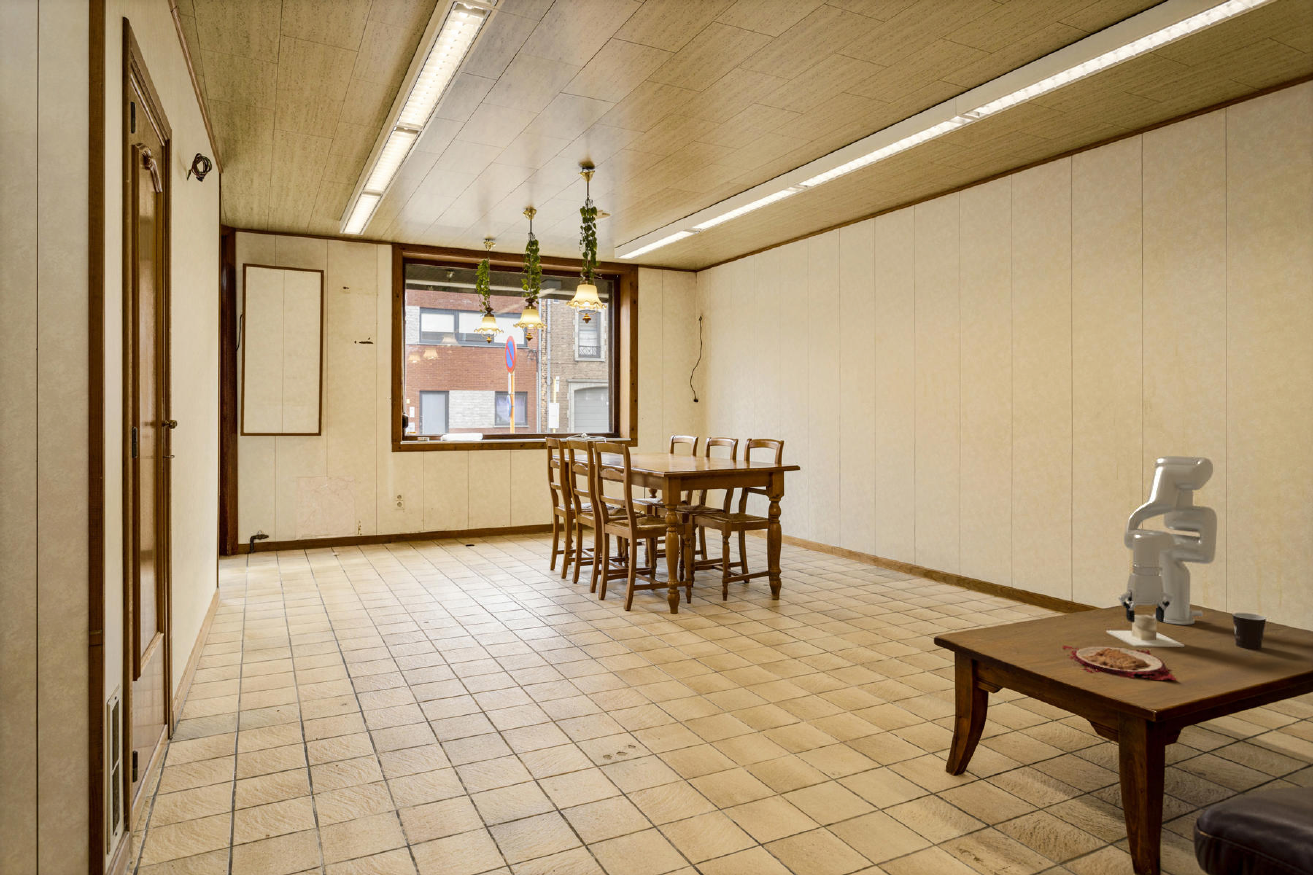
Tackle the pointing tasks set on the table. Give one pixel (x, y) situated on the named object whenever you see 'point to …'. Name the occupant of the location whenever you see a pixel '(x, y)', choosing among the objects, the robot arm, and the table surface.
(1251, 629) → the coffee mug
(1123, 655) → the plate with food
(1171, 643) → the white mat
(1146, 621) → the birch block
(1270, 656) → the table surface
